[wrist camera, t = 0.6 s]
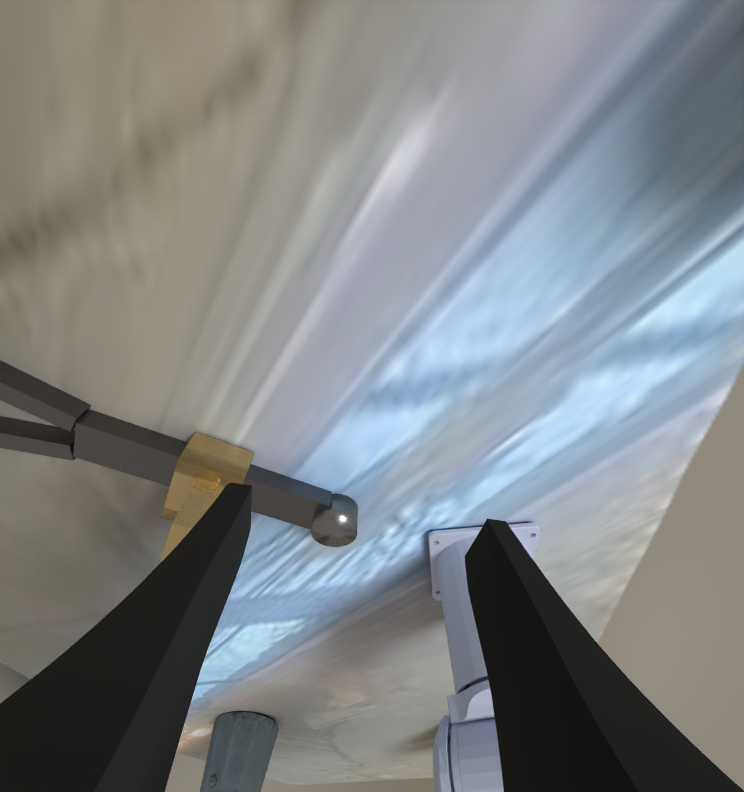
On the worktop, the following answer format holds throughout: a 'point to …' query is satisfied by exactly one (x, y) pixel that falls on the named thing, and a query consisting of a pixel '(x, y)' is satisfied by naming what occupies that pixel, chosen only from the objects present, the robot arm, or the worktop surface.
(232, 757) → the moka pot
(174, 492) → the collar
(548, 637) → the robot arm
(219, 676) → the worktop surface
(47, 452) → the grey long bar part
